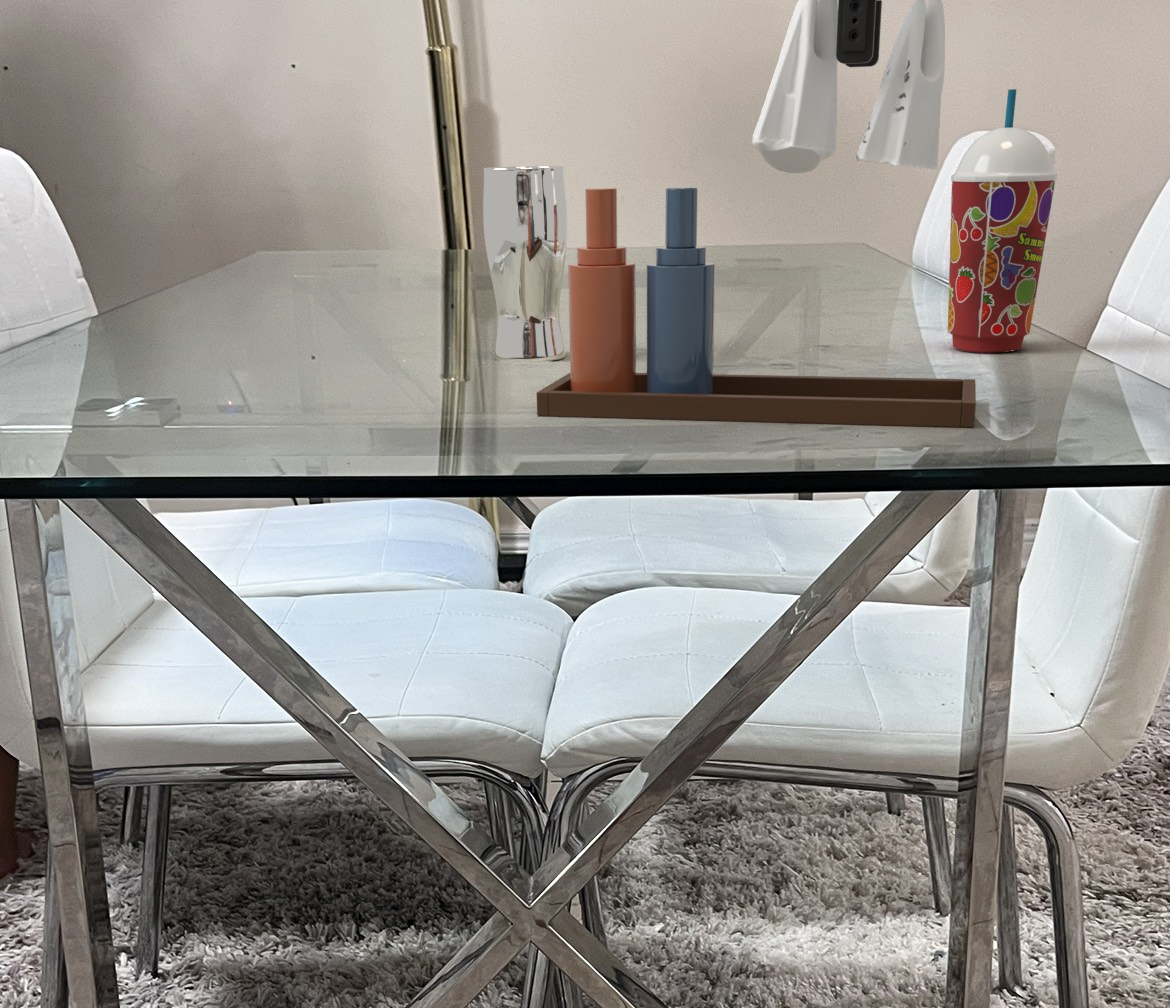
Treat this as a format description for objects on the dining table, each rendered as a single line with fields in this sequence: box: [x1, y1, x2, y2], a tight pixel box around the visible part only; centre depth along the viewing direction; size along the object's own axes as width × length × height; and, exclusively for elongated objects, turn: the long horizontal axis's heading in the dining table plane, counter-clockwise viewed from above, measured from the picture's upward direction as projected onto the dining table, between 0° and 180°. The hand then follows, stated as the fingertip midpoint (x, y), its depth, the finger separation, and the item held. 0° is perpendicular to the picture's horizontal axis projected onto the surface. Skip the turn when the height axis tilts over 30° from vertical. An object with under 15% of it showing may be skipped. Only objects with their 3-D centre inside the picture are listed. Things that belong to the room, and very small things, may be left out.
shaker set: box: [751, 0, 946, 174], centre depth 89 cm, size 12×4×11 cm, turn 82°
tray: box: [536, 372, 977, 429], centre depth 92 cm, size 28×9×2 cm, turn 76°
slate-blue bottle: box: [646, 186, 716, 394], centre depth 91 cm, size 4×4×14 cm
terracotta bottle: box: [567, 187, 637, 393], centre depth 92 cm, size 4×4×14 cm
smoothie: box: [947, 88, 1058, 354], centre depth 116 cm, size 8×8×20 cm
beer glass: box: [482, 165, 568, 362], centre depth 117 cm, size 7×7×15 cm
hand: (857, 63), depth 88 cm, fingers closed on shaker set, 4 cm apart
